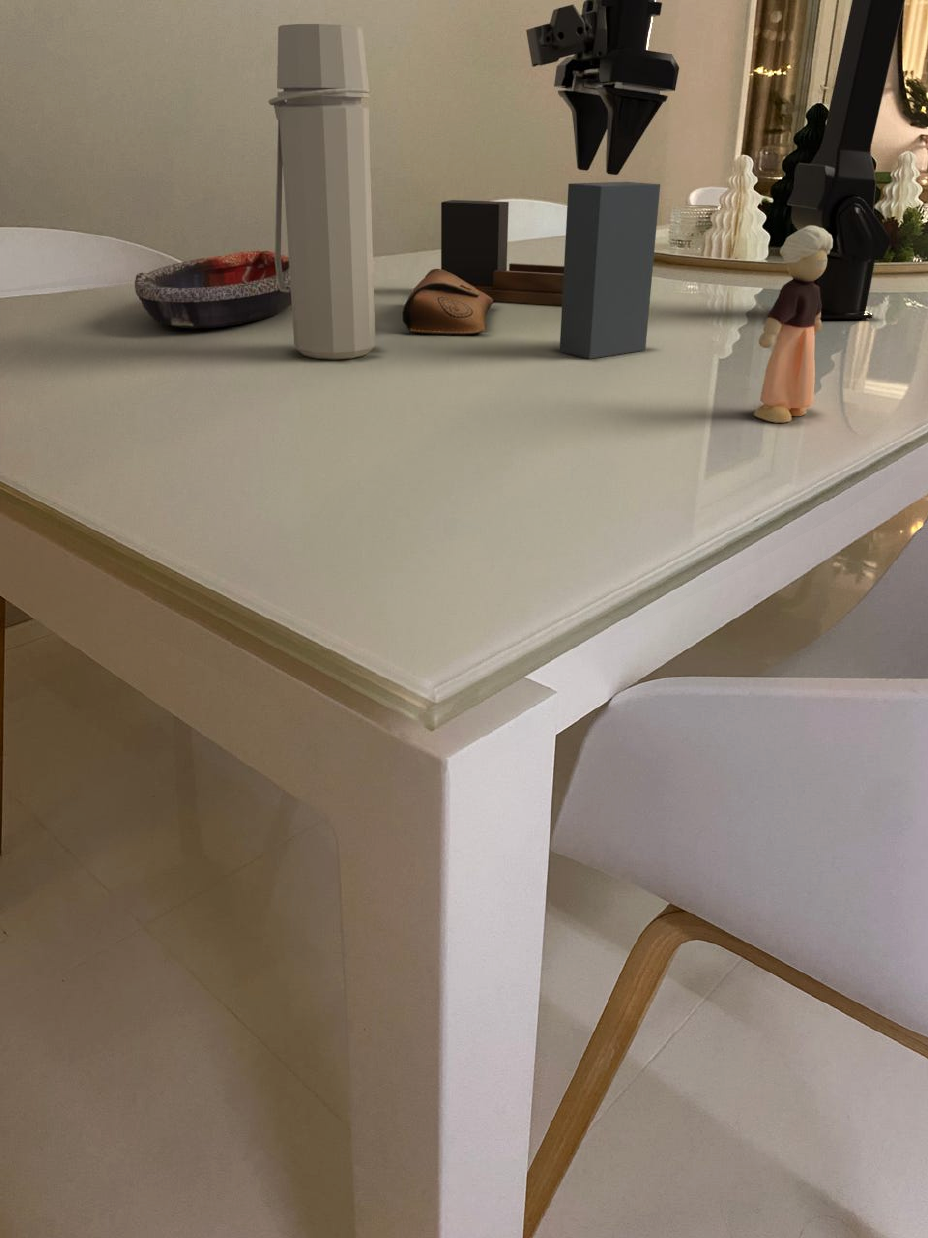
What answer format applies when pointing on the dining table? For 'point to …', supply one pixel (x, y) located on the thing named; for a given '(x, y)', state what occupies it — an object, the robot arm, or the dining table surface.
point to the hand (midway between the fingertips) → (596, 172)
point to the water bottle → (325, 188)
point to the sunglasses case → (445, 306)
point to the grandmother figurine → (794, 328)
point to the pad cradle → (492, 255)
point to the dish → (215, 290)
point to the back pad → (608, 267)
